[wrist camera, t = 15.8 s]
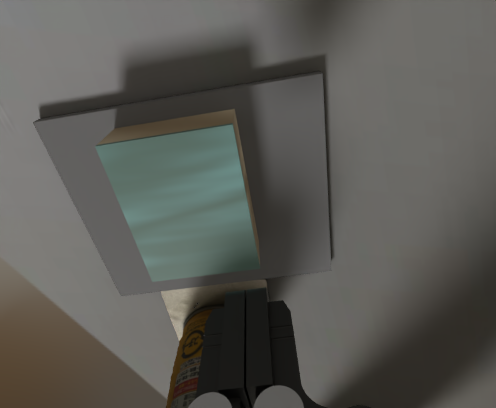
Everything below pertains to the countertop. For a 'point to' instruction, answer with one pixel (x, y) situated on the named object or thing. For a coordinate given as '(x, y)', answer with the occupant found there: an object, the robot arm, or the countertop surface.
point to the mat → (257, 169)
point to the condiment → (194, 332)
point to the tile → (184, 194)
